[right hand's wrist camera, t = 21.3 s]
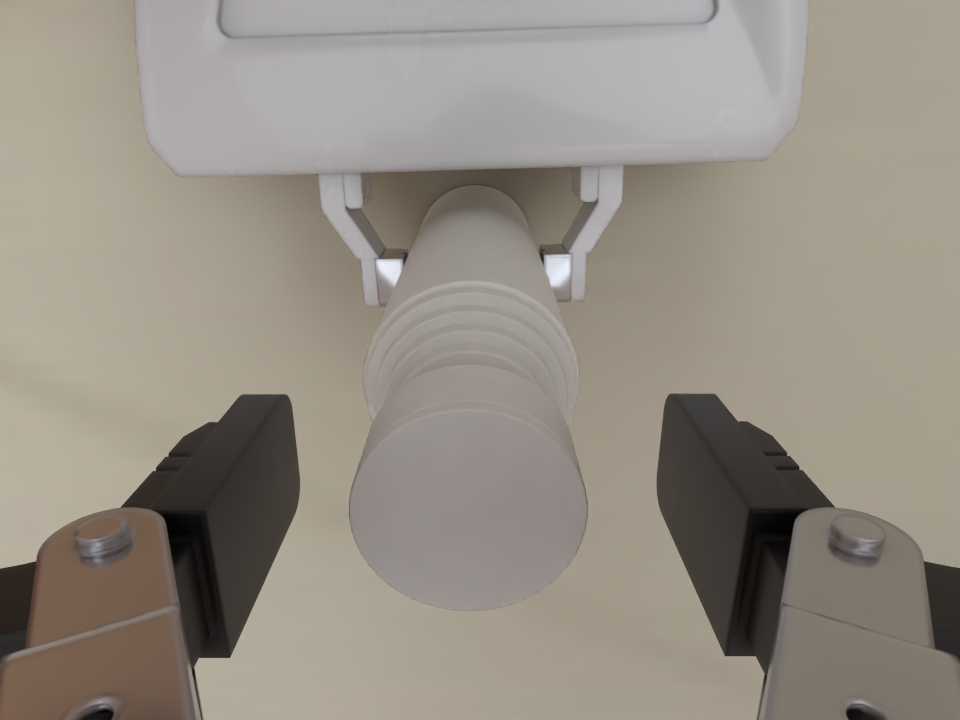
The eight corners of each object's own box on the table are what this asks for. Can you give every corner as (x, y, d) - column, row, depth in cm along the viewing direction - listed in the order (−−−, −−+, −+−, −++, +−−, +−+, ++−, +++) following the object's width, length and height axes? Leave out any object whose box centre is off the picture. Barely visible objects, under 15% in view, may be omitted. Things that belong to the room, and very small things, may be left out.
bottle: (444, 309, 31) (390, 645, 12) (402, 208, 29) (265, 419, 10) (544, 272, 30) (653, 567, 11) (508, 167, 28) (564, 313, 10)
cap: (564, 350, 11) (578, 395, 10) (580, 532, 13) (596, 599, 11) (347, 377, 11) (324, 425, 10) (386, 554, 13) (373, 622, 11)
